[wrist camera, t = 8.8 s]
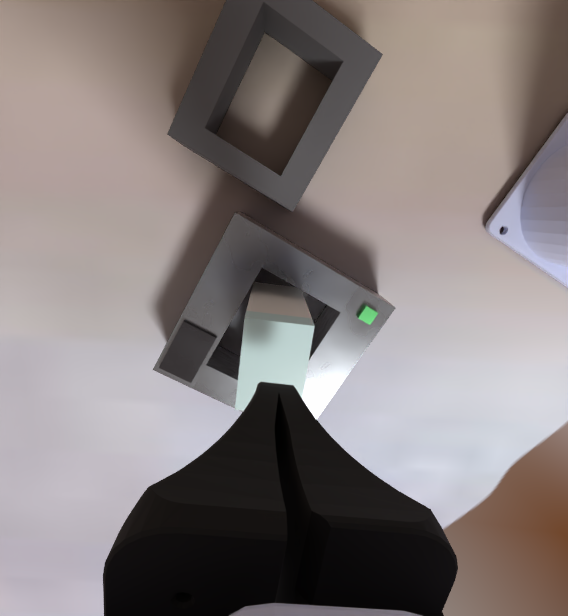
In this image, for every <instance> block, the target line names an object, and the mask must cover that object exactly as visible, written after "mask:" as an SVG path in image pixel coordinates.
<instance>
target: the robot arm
mask: <svg viewBox="0 0 568 616" xmlns="http://www.w3.org/2000/svg"><path fill="white" fill-rule="evenodd" d="M502 226H503V228H504V230H503V232H502V233H501V234H500V233H499V230H500V228H501V227H502ZM485 228H486V231H487V232H488V233H489V234H490V235H492V236H493V237H495V238H496V239H498V240H499V241H500V242H502V243H503V244H505V245H506V246H508V247H509V248H511V249H512V250H513V251H515V252H516V253H518V254H519V255H521V256H522V257H524V258H525V259H526V260H528V261H529V262H531V263H532V264H534V265H535V266H537V267H538V268H539V269H541V270H542V271H544V272H545V273H547V274H548V275H550V276H551V277H553V278H554V279H555V280H557V281H558V282H560V283H561V284H563V285H564V286H566V287H567V288H568V113H567V114H566V115H565V117H564V118H563V119H562V121H561V122H560V123H559V125H558V126H557V127H556V129H555V130H554V132H553V133H552V134H551V136H550V137H549V138H548V140H547V141H546V142H545V144H544V145H543V147H542V148H541V149H540V151H539V152H538V153H537V155H536V156H535V157H534V159H533V160H532V161H531V163H530V164H529V166H528V167H527V168H526V170H525V171H524V172H523V174H522V175H521V176H520V178H519V179H518V181H517V182H516V183H515V185H514V186H513V187H512V189H511V190H510V191H509V193H508V194H507V196H506V197H505V198H504V200H503V201H502V202H501V204H500V205H499V206H498V208H497V209H496V210H495V212H494V213H493V215H492V216H491V217H490V219H489V220H488V221H487V223H486V227H485ZM457 570H458V566H457V558H456V555H455V553H454V551H453V549H452V547H451V545H450V543H449V542H448V539H447V537H446V535H445V534H444V531H443V529H442V528H441V526H440V524H439V523H438V521H437V519H436V518H435V516H434V514H433V513H432V511H431V509H429V508H427V507H426V506H424V505H422V504H420V503H418V502H417V501H415V500H413V499H411V498H410V497H408V496H406V495H404V494H403V493H401V492H399V491H398V490H396V489H395V488H393V487H392V486H390V485H389V484H387V483H386V482H384V481H383V480H381V479H380V478H378V477H377V476H375V475H374V474H373V473H371V472H370V471H369V470H367V469H366V468H365V467H364V466H362V465H361V464H360V463H359V462H357V461H356V460H355V459H354V458H353V457H351V456H350V455H349V454H348V453H347V452H346V451H345V450H344V449H343V448H342V447H341V446H340V445H339V444H338V443H337V442H336V441H335V440H334V439H333V438H332V437H331V436H330V435H329V434H328V433H327V432H326V430H325V429H324V428H323V427H322V426H321V425H320V423H319V422H318V421H317V419H316V418H315V417H314V415H313V414H312V413H311V411H310V410H309V408H308V407H307V405H306V404H305V402H304V401H303V399H302V398H301V396H300V394H299V393H298V391H297V390H296V388H295V387H294V385H287V384H278V383H269V382H260V383H258V384H257V388H256V391H255V393H254V395H253V397H252V399H251V400H250V402H249V404H248V405H247V407H246V408H245V410H244V411H243V413H242V414H241V415H240V416H239V418H238V419H237V420H236V422H235V423H234V424H233V425H232V426H231V428H230V429H229V430H228V431H227V432H226V433H225V434H224V435H223V436H222V437H221V438H220V439H219V440H218V441H217V442H216V443H215V444H213V445H212V446H211V447H210V448H209V449H208V450H207V451H205V452H204V453H203V454H202V455H200V456H199V457H198V458H196V459H195V460H194V461H192V462H191V463H189V464H188V465H186V466H185V467H184V468H182V469H181V470H179V471H177V472H176V473H174V474H172V475H170V476H168V477H167V478H165V479H163V480H161V481H159V482H157V483H155V484H153V485H151V486H149V487H148V488H147V490H146V491H145V492H144V494H143V495H142V496H141V498H140V499H139V501H138V502H137V504H136V505H135V507H134V508H133V510H132V511H131V513H130V514H129V516H128V518H127V519H126V521H125V523H124V524H123V526H122V528H121V530H120V532H119V534H118V536H117V538H116V540H115V542H114V544H113V547H112V549H111V551H110V553H109V555H108V557H107V559H106V562H105V567H104V573H103V590H104V616H444V615H443V613H442V610H443V608H444V605H445V603H446V600H447V598H448V596H449V593H450V591H451V588H452V586H453V583H454V581H455V578H456V574H457Z"/></svg>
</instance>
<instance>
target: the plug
mask: <svg viewBox="0 0 568 616" xmlns="http://www.w3.org/2000/svg"><path fill="white" fill-rule="evenodd" d="M314 327H315V325H314V323H313V320H312V317H311V315H310V312H309V309H308V306H307V304H306V301H305V298H304V295H303V293H302V290H300V289H299V288H297V287H290V286H282V285H274V284H266V283H258V282H253V286H252V290H251V294H250V298H249V302H248V306H247V310H246V314H245V318H244V328H243V337H242V347H241V356H240V366H239V375H238V385H237V394H236V404H235V410H243V411H244V410H245V408H246V407H247V405H248V404H249V402H250V400H251V399H252V397H253V395H254V393H255V391H256V388H257V384H258V383H260V382H269V383H278V384H287V385H294V387H295V388H296V390H297V391H298V393H299V394H300V396H301V398H302V396H303V391H304V385H305V379H306V373H307V367H308V362H309V356H310V350H311V344H312V339H313V333H314Z"/></svg>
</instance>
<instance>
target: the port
mask: <svg viewBox="0 0 568 616" xmlns="http://www.w3.org/2000/svg"><path fill="white" fill-rule="evenodd" d="M261 268H263V269H265V270H267V271H269V272H270V273H272V274H274V275H276V276H277V277H279V278H281V279H283V280H284V281H286V282H288V283H290V284H291V285H293V286H295V287H297V288H299V289H300V290H302V291H304V292H306V293H307V294H309V295H311V296H313V297H314V298H316V299H318V300H320V301H321V302H323V303H325V304H327V306H326V307H325V309H324V310H323V312H322V313H321V315H320V316H319V318H318V319H317V321H316V323H315V324H314V325H315V327H314V333H313V339H312V344H311V350H310V356H309V362H308V367H307V373H306V379H305V385H304V391H303V396H302V399H303V401H304V402H305V404H306V405H307V407H308V408H309V410H310V411H311V413H312V414H313V415H314V417H315V418H316V419H317V418H318V416H319V415H320V414H321V412H322V411H323V409H324V408H325V407H326V405H327V404H328V402H329V401H330V400H331V398H332V397H333V395H334V394H335V393H336V391H337V390H338V388H339V387H340V385H341V384H342V383H343V381H344V380H345V378H346V377H347V376H348V374H349V373H350V371H351V370H352V369H353V367H354V366H355V364H356V363H357V362H358V360H359V359H360V357H361V356H362V354H363V353H364V352H365V350H366V349H367V347H368V346H369V345H370V343H371V342H372V340H373V339H374V338H375V336H376V335H377V333H378V332H379V331H380V329H381V328H382V326H383V325H384V324H385V322H386V321H387V319H388V318H389V316H390V315H391V314H392V312H393V311H394V309H395V307H394V306H393V305H391V304H390V303H389V302H388V301H387V300H385V299H384V298H383V297H382V296H380V295H379V294H378V293H376V292H374V291H373V290H371V289H369V288H368V287H366V286H364V285H363V284H361V283H359V282H357V281H356V280H354V279H352V278H351V277H349V276H347V275H346V274H344V273H342V272H341V271H339V270H337V269H336V268H334V267H332V266H331V265H329V264H327V263H326V262H324V261H322V260H321V259H319V258H317V257H316V256H314V255H312V254H311V253H309V252H307V251H306V250H304V249H302V248H301V247H299V246H297V245H295V244H294V243H292V242H290V241H289V240H287V239H285V238H284V237H282V236H280V235H279V234H277V233H275V232H274V231H272V230H270V229H269V228H267V227H265V226H264V225H262V224H260V223H259V222H257V221H255V220H254V219H252V218H250V217H249V216H247V215H245V214H244V213H242V212H235V214H234V216H233V218H232V219H231V221H230V223H229V225H228V227H227V229H226V231H225V233H224V235H223V237H222V239H221V240H220V242H219V244H218V246H217V248H216V250H215V252H214V254H213V256H212V258H211V260H210V261H209V263H208V265H207V267H206V269H205V271H204V273H203V275H202V277H201V279H200V281H199V282H198V284H197V286H196V288H195V290H194V292H193V294H192V296H191V298H190V300H189V302H188V304H187V305H186V307H185V309H184V311H183V313H182V315H181V317H180V319H179V321H178V323H177V325H176V326H175V328H174V330H173V332H172V334H171V336H170V338H169V340H168V342H167V344H166V346H165V347H164V349H163V351H162V353H161V355H160V357H159V359H158V361H157V363H156V365H155V367H154V368H153V370H155V371H157V372H159V373H161V374H163V375H165V376H167V377H169V378H171V379H174V380H176V381H178V382H180V383H182V384H184V385H186V386H188V387H191V388H193V389H195V390H197V391H199V392H201V393H203V394H205V395H208V396H210V397H212V398H214V399H216V400H218V401H220V402H222V403H224V404H227V405H229V406H231V407H233V408H235V404H236V394H237V385H238V375H239V366H240V356H238V355H236V354H234V353H232V352H230V351H228V350H226V349H224V348H222V347H220V346H218V343H219V342H220V340H221V338H222V336H223V335H224V333H225V331H226V329H227V328H228V326H229V324H230V322H231V321H232V319H233V317H234V315H235V314H236V312H237V310H238V308H239V307H240V305H241V303H242V301H243V300H244V298H245V296H246V294H247V293H248V291H249V289H250V287H251V286H252V284H253V282H254V280H255V279H256V277H257V275H258V273H259V272H260V270H261ZM239 411H241V412H243V410H239Z"/></svg>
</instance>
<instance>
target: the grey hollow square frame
mask: <svg viewBox="0 0 568 616" xmlns="http://www.w3.org/2000/svg"><path fill="white" fill-rule="evenodd" d="M264 32H266V33H267V34H268V35H270V36H271V37H273V38H274V39H275V40H277V41H278V42H280V43H281V44H282V45H284V46H285V47H287V48H288V49H289V50H291V51H292V52H293V53H295V54H296V55H298V56H299V57H300V58H302V59H303V60H305V61H306V62H307V63H309V64H310V65H311V66H313V67H314V68H316V69H317V70H318V71H320V72H321V73H323V74H324V75H325V76H327V77H328V78H330V79H331V80H332V83H331V85H330V87H329V89H328V90H327V92H326V94H325V96H324V98H323V100H322V101H321V103H320V105H319V107H318V109H317V111H316V113H315V114H314V116H313V118H312V120H311V122H310V124H309V125H308V127H307V129H306V131H305V133H304V135H303V136H302V138H301V140H300V142H299V144H298V146H297V147H296V149H295V151H294V153H293V155H292V157H291V158H290V160H289V162H288V164H287V166H286V168H285V169H284V171H283V173H282V175H281V176H280V175H278V174H276V173H275V172H273V171H272V170H270V169H269V168H267V167H265V166H264V165H262V164H261V163H259V162H258V161H256V160H254V159H253V158H251V157H250V156H248V155H247V154H245V153H243V152H242V151H240V150H239V149H237V148H235V147H234V146H232V145H231V144H229V143H228V142H226V141H224V140H223V139H221V138H220V137H218V136H217V135H216V133H217V131H218V129H219V127H220V124H221V122H222V120H223V118H224V116H225V114H226V112H227V110H228V108H229V106H230V103H231V101H232V99H233V97H234V95H235V93H236V91H237V89H238V87H239V85H240V82H241V80H242V78H243V76H244V74H245V72H246V70H247V68H248V66H249V64H250V62H251V59H252V57H253V55H254V53H255V51H256V49H257V47H258V45H259V43H260V41H261V38H262V36H263V34H264ZM382 55H383V54H382V53H380V52H379V51H378V50H377V49H375V48H374V47H373V46H371V45H370V44H369V43H367V42H366V41H365V40H363V39H362V38H361V37H360V36H358V35H357V34H356V33H354V32H353V31H352V30H350V29H349V28H348V27H346V26H345V25H344V24H342V23H341V22H340V21H339V20H337V19H336V18H335V17H333V16H332V15H331V14H329V13H328V12H327V11H325V10H324V9H323V8H322V7H320V6H319V5H318V4H316V3H315V2H314V1H312V0H226V2H225V4H224V6H223V9H222V11H221V13H220V15H219V18H218V20H217V22H216V24H215V27H214V29H213V31H212V34H211V36H210V38H209V40H208V43H207V45H206V47H205V50H204V52H203V54H202V56H201V59H200V61H199V63H198V65H197V68H196V70H195V72H194V75H193V77H192V79H191V81H190V84H189V86H188V88H187V90H186V93H185V95H184V97H183V100H182V102H181V104H180V106H179V109H178V111H177V113H176V115H175V118H174V120H173V122H172V125H171V127H170V129H169V131H168V135H169V136H171V137H172V138H173V139H175V140H176V141H178V142H179V143H180V144H182V145H184V146H185V147H187V148H188V149H190V150H192V151H193V152H195V153H197V154H198V155H200V156H201V157H203V158H205V159H206V160H208V161H209V162H211V163H213V164H214V165H216V166H218V167H219V168H221V169H222V170H224V171H226V172H227V173H229V174H231V175H232V176H234V177H235V178H237V179H239V180H240V181H242V182H244V183H245V184H247V185H248V186H250V187H252V188H253V189H255V190H257V191H258V192H260V193H261V194H263V195H265V196H266V197H268V198H270V199H271V200H273V201H274V202H276V203H278V204H279V205H281V206H282V207H284V208H286V209H287V210H289V211H291V212H293V211H294V209H295V207H296V206H297V204H298V202H299V200H300V199H301V197H302V195H303V193H304V192H305V190H306V188H307V186H308V185H309V183H310V181H311V179H312V178H313V176H314V174H315V172H316V171H317V169H318V167H319V165H320V164H321V162H322V160H323V158H324V156H325V155H326V153H327V151H328V149H329V148H330V146H331V144H332V142H333V141H334V139H335V137H336V135H337V134H338V132H339V130H340V128H341V127H342V125H343V123H344V121H345V120H346V118H347V116H348V114H349V113H350V111H351V109H352V107H353V106H354V104H355V102H356V100H357V99H358V97H359V95H360V93H361V92H362V90H363V88H364V86H365V85H366V83H367V81H368V79H369V78H370V76H371V74H372V72H373V71H374V69H375V67H376V65H377V64H378V62H379V60H380V58H381V57H382Z"/></svg>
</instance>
